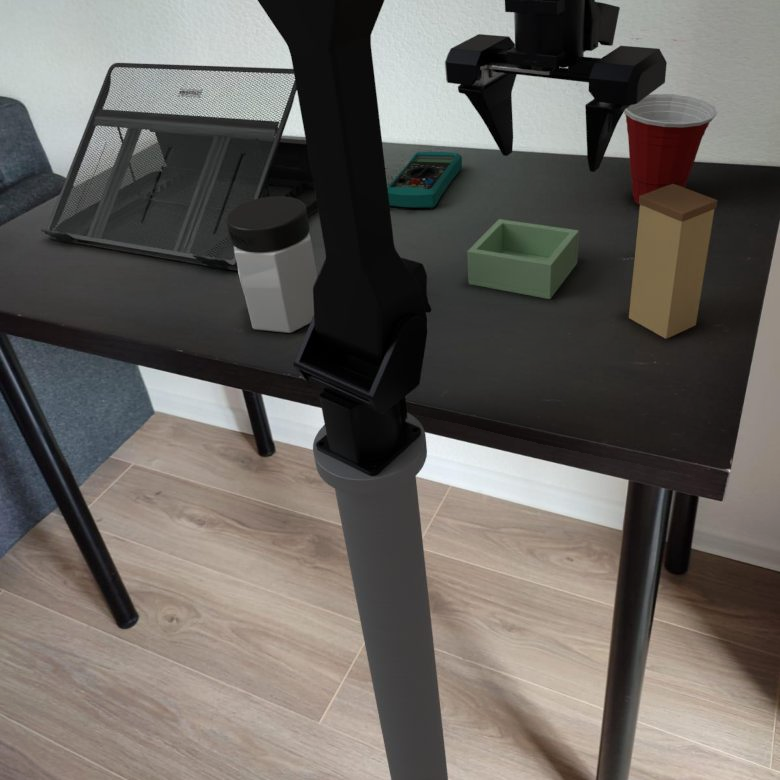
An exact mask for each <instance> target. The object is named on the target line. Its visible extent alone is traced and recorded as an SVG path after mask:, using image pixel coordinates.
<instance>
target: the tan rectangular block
mask: <svg viewBox="0 0 780 780" xmlns="http://www.w3.org/2000/svg"><path fill="white" fill-rule="evenodd" d="M639 204H640V205H639ZM639 204H638V205H639V210H638V219H637V220H638V221H637V222H638V223H637V232H636V241H635V249H634V250H635V252H634V262H633V272H632V279H631V280H632V281H631V291H630V301H629V312H628V319H630V320H632V321H633V322H635V323H636V324H639V325H641V326H642V327H644V328H645V329H648V330H649V331H651V332H653V333H655V334H656V335H658V336H660V337H661V338H664V339H665V340H667V339H670V338H671V337H674V336H676V335H678V334H680V333H682V332H685V331H687V330H688V329H691V328H693V327H695V326H696V325H697V322H698V321H697V320H698V314H699V308H700V302H701V295H702V291H703V284H704V279H705V273H706V272H705V271H706V265H707V260H708V259H707V258H708V252H709V245H710V240H711V233H712V228H713V221H714V215H715V210H716V209H717V205H718V200H717V199H716V198H713V197H710V196H707V195H705V194H702V193H699V192H696V191H694V190H692V189H689V188H687V187H685V188H683V187H681V186H678V185H675V184H671V185H668V186H665V187H662V188H660V189H657V190H654V191H652V192H649V193H646V194H644V195H641V196H639Z"/></svg>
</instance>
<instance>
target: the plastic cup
mask: <svg viewBox="0 0 780 780" xmlns="http://www.w3.org/2000/svg"><path fill="white" fill-rule="evenodd" d="M623 114H624V115H625V122H626V131H627V139H628V140H627V141H628V154H629V167H630V168H629V171H630V176H631V187H632V196H633V200H634V203H636V204H637V205H638V206H640V204H639V196H641V195H644V194H646V193H649V192H652V191H654V190H657V189H660V188H662V187H665V186H668V185H671V184H675V185H678V186H681V187H683V188H686V185H687V182H688V179H689V177H690V176H691V172H692V169H693V166H694V164H695V161H696V158H697V156H698V155H697V154H698V152H699V148H700V145H701V142H702V140H703V137H704V136H705V133H706V131H707V129H708V127H709V125H710V122H712V121H713V120H714V118H715V117H716V116H717V114H718V111H717V109H716V108H715V106H714V105H712V104H711V103H709V102H707V101H705V100H703V99H699V98H696V97H692V96H687V95H681V94H680V95H679V94H674V93H650V94H649V95H648V96H646V97H645V98H644V99H642V100H641V101H640V102H638V103H637V104H633V105H630V106H629V107H628V108H626V109H625V110H624V112H623Z"/></svg>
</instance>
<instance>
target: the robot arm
mask: <svg viewBox="0 0 780 780" xmlns="http://www.w3.org/2000/svg"><path fill="white" fill-rule="evenodd" d="M257 3H259V5H260V6H261V8H262V9H263V11H264V12H265V14H266V15H267V17H268V18H269V20H270V21H271V23H272V24H273V26H274V27H275V29H276V30H277V32H278V33H279V35H280V36H281V38H282V39H283V40H284V42H285V43H286V45H287V47H288V51H289V54H290V58H291V64H292V69H293V70H294V75H293V77H294V76H295V77H294V78H295V79H294V80H295V82H296V87H297V91H296V94H297V96H298V97H297V98H298V104H299V109H300V115H301V121H302V126H303V133H304V139H305V140H306V144H307V150H308V155H309V161H310V167H311V172H312V178H313V184H314V189H313V190H315V191H314V192H315V193H314V195H315V197H316V198H315V200H316V201H317V206H318V210H317V212H318V217H319V223H320V229H321V234H322V235H321V236H322V240H323V245H324V252H325V259H324V261H323V264H322V266H321V267H320V270H319V272H318V273H317V276H318V277H317V279H316V281H315V283H314V286H313V303H314V316H313V318H312V320H311V323H309V324H308V328H307V329H306V332H305V335H304V337H303V340H302V342H301V344H300V347H299V349H298V351H297V354H296V356H295V358H294V361H293V367H294V369H295V370H296V373H298V374H299V376H300V378H301V379H302V380H304V381H306V382H312V383H314V384H315V385H318V386H320V387H322V388H324V390H323V391H322V392H321V393H319V395H318V396H319V401H320V408H321V412H322V418H323V423H324V425H325V428H326V435H325V436H324V437H323V438H321V439H320V440H319V441H318V442H317V443H316V448H317V450H318V451H320V452H322V453H324V454H326V455H328V456H330V457H332V458H334V459H336V460H338V461H340V462H342V463H344V464H347V465H349V466H351V467H353V468H355V469H357V470H359V471H361V472H363V473H365V474H367V475H369V476H376V475H378V474H379V473H380V472H381V471H382V470H383V469H385V468H386V467H387V466H388V465H389V464H390V463H391V462H392V461H393V460H394V459H395V458H397V457H398V456H399V455H400V454H401V453H402V452H403V451H404V450H405V449H406V448H407V447H409V446H410V445H411V444H412V443H413V442H414V441H415V440H416V439H417V438H418V437H419V436H420V435H421V429H420V428H419V427H418V426H415V425H413V424H411V423H408V422H406V419H407V413H408V410H407V400H406V396H408V395H409V394H410V393H411V392H412V391H413V390H415V389H416V388H417V387H419V386H420V384H421V383H420V382H421V376H422V370H423V364H424V357H425V351H426V346H427V345H426V344H427V340H428V316H427V314H430V313H431V312H432V307H431V304H430V302H429V298H428V288H427V287H428V273H427V271H426V268H425V266H424V264H423V263H422V262H418V261H415V260H411V259H408V258H405V257H401V255H400V253H398V251H397V249H396V246H395V242H394V232H393V224H392V215H391V206H390V205H389V197H388V188H387V187H388V183H387V182H388V180H387V172H386V163H385V156H384V145H383V138H382V130H381V129H382V127H381V119H380V113H379V104H378V103H379V101H378V94H377V85H376V78H375V77H376V76H375V68H374V60H373V52H372V33H373V31H374V28H375V26H376V23H377V21H378V18H379V15H380V13H381V10H382V8H383V5H384V3H385V0H257ZM620 9H621V7H620V6H618V5H613V4H609V3H605V2H600V1H596V0H504V13H513V19H514V20H513V22H514V23H513V24H514V41H513V40H512V38H511V36H508V35H494V34H483V33H478V34H476V35H474V36H473V37H470V38H468V39H466V40H465V41H462V42H461V43H459V44H457V45H455V46H452V47H451V48H450V49H449V51H448V53H447V56H446V58H445V61H444V69H445V70H444V71H445V80H446V82H447V84H454V85H458V86H457V91H458V93H459V94H463V95H465V96H466V98H467V99H468V101H469V102H470V103H471V105H472V106H473V108H474V109H475V111H476V112H477V114H478V115H479V117H480V118H481V119H482V121H483V123H484V125H485V127H486V128H487V130H488V132H489V133H490V136H492V138H493V140H494V142H495V144H496V145H497V147H498V149H499V151H500V153H501V154H502V156H505V157H508V156H509V155H511V154H512V153H513V146H514V145H513V144H514V121H513V99H512V98H513V97H512V96H513V95H512V94H513V88H514V86H515V81H516V78H517V75H519V76H527V77H536V78H545V79H554V80H562V81H563V80H564V81H570V82H581V83H588V92H589V94H590V95H591V96H592V97H593V99H592V100H590V101H589V102H587V103H585V106H584V107H585V108H584V109H585V132H586V135H585V136H586V159H587V165H588V169H589V172H591V173H595V172H596V171H597V170H598V169H600V167H601V165H602V162H603V159H604V157H605V155H606V152H607V149H608V147H609V145H610V142H611V140H612V137H613V135H614V132H615V130H616V128H617V125H618V123H619V122H620V119H621V118H622V116H623V114H624V110H625V109H626V108H628V107H629V106H630V105H633V104H637V103H638V102H640V101H641V100H642V99H644V98H645V97H646V96H648V95H649V94H653V93H654V92H655V91H656V90H657V89H659V88H660V87H662V86H663V85H664V84H665V83H666V75H667V66H668V65H667V64H668V63H667V60H666V58H665V56H664V55H663V53H662V51H661V48H656V47H643V46H632V45H620V46H618V47H617V48H615V49H613V50H612V51H610V52H608V53H607V54H605V55H604V56H602V57H592V56H591V57H590V56H585V55H584V54H585V53H586V52H592V51H594V50H595V49H597V48H598V47H599V44H600V45H601V46H609V47H610V46H613V45H614V41H615V34H616V30H617V25H618V19H619V14H620Z"/></svg>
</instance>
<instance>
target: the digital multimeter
mask: <svg viewBox="0 0 780 780" xmlns="http://www.w3.org/2000/svg"><path fill="white" fill-rule="evenodd" d="M462 168H463V157H462V154H459V153H458V152H449V151H448V152H447V151H417V152H415V154H413V156H412V157H411V159H410V160H409V161H408V163H407V164H405V166H404V167H403V168H402V170H401V171H400V172H399V173H398V175H396V177H395V178H394V179H393V180H392V181H391V182H390V183H389V184H388V185H387V188H388V197H389V205H390V207H395V208H407V209H408V208H409V209H433V208H435V206H437V204H438V201H439V200H440V198H441V197H442V196H443V194H444V193H445V191H446V190H447V188H448V187H449V186H450V184H451V183H452V182H453V180H454V179H455V178H456V176H457V175H458V174H459V172H460V171H461V170H462Z"/></svg>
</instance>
